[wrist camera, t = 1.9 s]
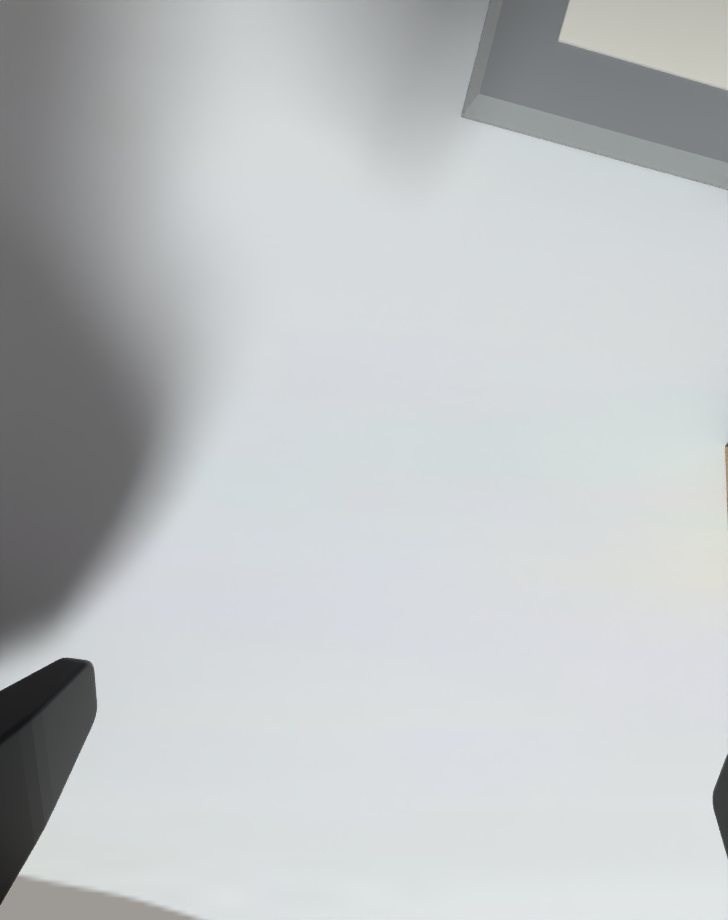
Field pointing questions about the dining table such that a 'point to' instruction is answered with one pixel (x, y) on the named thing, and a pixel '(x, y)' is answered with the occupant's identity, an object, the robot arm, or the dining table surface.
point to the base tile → (610, 79)
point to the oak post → (727, 472)
